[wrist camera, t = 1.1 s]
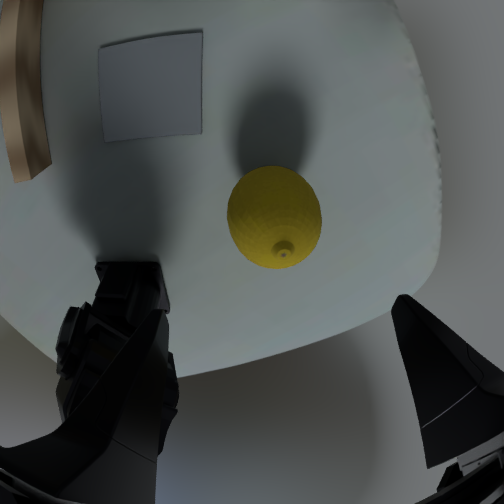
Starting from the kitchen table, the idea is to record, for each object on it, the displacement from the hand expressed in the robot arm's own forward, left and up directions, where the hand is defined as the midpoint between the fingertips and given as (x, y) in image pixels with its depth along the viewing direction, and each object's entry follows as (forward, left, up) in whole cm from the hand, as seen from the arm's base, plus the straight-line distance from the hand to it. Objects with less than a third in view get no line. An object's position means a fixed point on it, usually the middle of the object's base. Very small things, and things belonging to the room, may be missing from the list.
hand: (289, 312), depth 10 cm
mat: (+7, +7, -12) cm, 16 cm away
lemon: (-1, -1, -12) cm, 12 cm away
